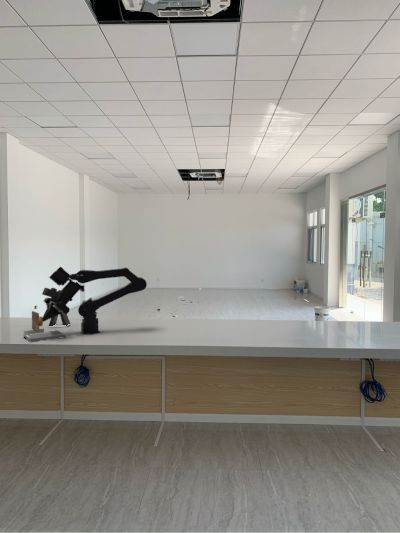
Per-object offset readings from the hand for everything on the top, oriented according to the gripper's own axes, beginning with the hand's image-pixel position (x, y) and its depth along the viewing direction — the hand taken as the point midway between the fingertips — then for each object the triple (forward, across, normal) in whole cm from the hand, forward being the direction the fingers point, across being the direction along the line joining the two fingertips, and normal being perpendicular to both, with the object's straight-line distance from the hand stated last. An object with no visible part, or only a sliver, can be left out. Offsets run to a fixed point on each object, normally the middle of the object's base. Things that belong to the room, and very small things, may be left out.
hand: (42, 321), depth 167 cm
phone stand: (-4, -21, +15) cm, 26 cm away
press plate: (+4, 0, +1) cm, 4 cm away
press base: (+4, 0, +6) cm, 7 cm away
